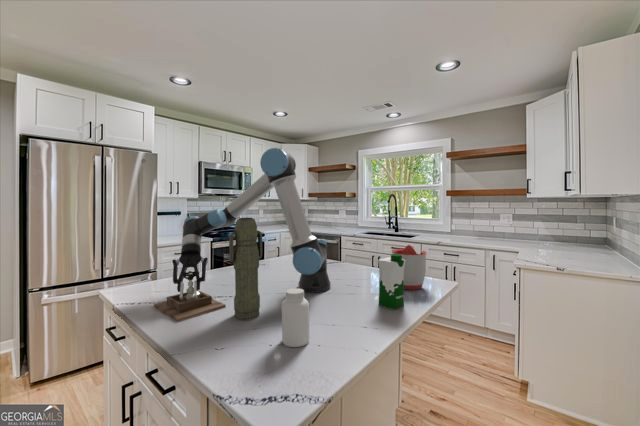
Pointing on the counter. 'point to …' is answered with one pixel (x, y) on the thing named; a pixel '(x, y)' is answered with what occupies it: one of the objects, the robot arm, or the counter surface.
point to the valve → (190, 286)
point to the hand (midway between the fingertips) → (188, 298)
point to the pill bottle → (295, 318)
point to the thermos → (246, 268)
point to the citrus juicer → (412, 267)
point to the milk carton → (391, 281)
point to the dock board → (188, 306)
